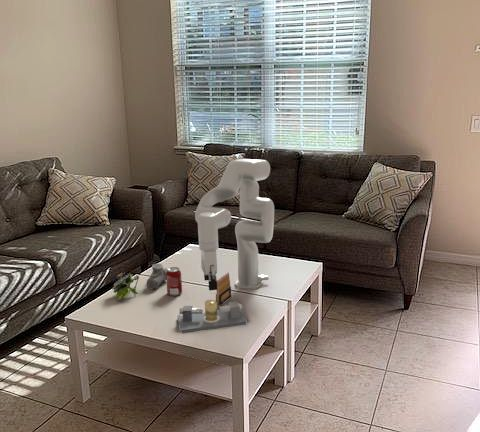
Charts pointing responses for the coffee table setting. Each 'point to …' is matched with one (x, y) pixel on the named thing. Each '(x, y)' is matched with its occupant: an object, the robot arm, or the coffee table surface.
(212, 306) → the tan rounded cylinder
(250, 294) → the coffee table surface
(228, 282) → the ammunition clip
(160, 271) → the pipe fitting
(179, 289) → the soda can
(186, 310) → the grey block on rod
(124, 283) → the passion flower
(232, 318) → the shaft rig
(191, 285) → the coffee table surface
